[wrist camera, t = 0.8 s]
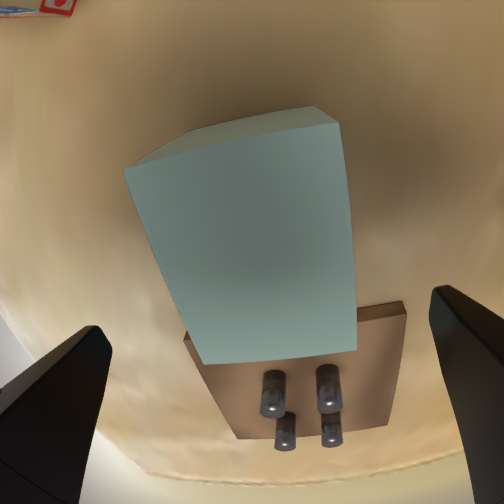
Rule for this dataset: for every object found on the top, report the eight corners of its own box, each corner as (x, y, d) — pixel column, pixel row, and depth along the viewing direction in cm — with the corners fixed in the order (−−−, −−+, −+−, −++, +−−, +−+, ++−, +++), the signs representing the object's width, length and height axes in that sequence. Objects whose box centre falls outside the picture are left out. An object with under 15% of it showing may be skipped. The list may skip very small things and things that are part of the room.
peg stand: (401, 301, 18) (421, 349, 14) (385, 414, 25) (392, 452, 21) (187, 328, 21) (170, 375, 17) (239, 428, 27) (233, 466, 24)
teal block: (313, 105, 13) (338, 122, 7) (335, 254, 17) (357, 349, 11) (188, 131, 14) (122, 170, 8) (229, 269, 18) (203, 364, 12)
